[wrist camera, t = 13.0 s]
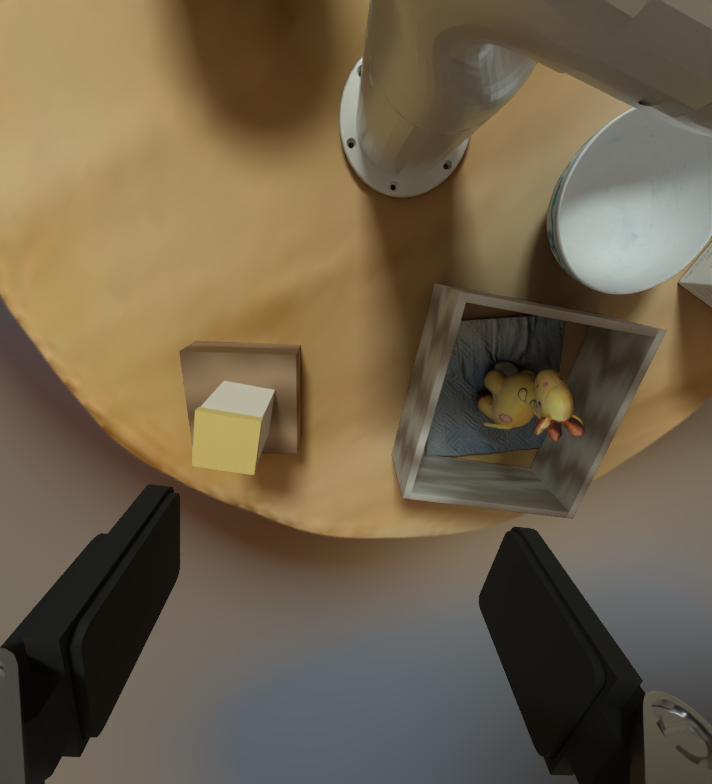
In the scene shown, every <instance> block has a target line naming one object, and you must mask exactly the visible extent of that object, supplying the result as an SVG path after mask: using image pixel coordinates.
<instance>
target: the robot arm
mask: <svg viewBox="0 0 712 784" xmlns="http://www.w3.org/2000/svg"><path fill="white" fill-rule="evenodd" d="M537 62H539V63H541V64H543V65H545V66H547V67H549V68H551V69H553V70H555V71H557V72H559V73H567V74H569V75H571V76H573V77H575V78H577V79H579V80H581V81H583V82H585V83H587V84H589V85H591V86H593V87H595V88H597V89H599V90H601V91H603V92H605V93H607V94H609V95H611V96H613V97H615V98H617V99H619V100H621V101H623V102H625V103H627V104H629V105H631V106H633V107H635V108H637V109H639V110H641V111H643V112H645V113H647V114H649V115H651V116H653V117H656V118H658V119H660V120H662V121H664V122H666V123H669V124H671V125H673V126H675V127H678V128H681V129H683V130H686V131H689V132H691V133H695V134H699V135H704V136H710V137H712V0H370V3H369V11H368V19H367V27H366V35H365V44H364V52H363V55H362V56H361V58H360V59H359V60H358V61H357V62H356V64H355V66H354V67H353V69H352V71H351V72H350V74H349V76H348V79H347V81H346V84H345V86H344V89H343V93H342V98H341V102H340V111H339V130H340V136H341V142H342V146H343V149H344V152H345V155H346V157H347V160H348V162H349V163H350V165H351V167H352V169H353V170H354V172H355V173H356V174H357V175H358V177H359V178H360V179H361V180H362V181H363V182H364V183H365V184H367V185H368V186H369V187H370V188H371V189H373V190H375V191H377V192H379V193H381V194H383V195H387V196H390V197H395V198H408V197H414V196H418V195H421V194H423V193H426V192H428V191H430V190H432V189H433V188H435V187H436V186H438V185H439V184H440V183H442V182H443V181H444V180H445V179H446V178H447V177H448V176H449V175H450V174H451V173H452V172H453V171H454V169H455V168H456V166H457V165H458V163H459V162H460V160H461V158H462V157H463V154H464V152H465V150H466V147H467V145H468V142H469V138H470V136H471V135H472V134H473V133H474V132H475V131H476V130H477V129H479V128H480V127H481V126H482V125H483V124H484V123H485V122H487V121H488V120H489V119H490V118H491V117H492V116H493V115H494V114H496V113H497V112H498V111H499V110H500V109H501V108H502V107H503V106H504V105H505V104H506V103H507V102H508V101H510V99H511V98H512V97H513V96H514V95H515V94H516V93H517V92H518V90H519V89H520V88H521V87H522V85H523V84H524V83H525V82H526V80H527V79H528V77H529V75H530V74H531V72H532V71H533V69H534V67H535V65H536V64H537ZM360 73H361V76H360V77H359V74H360ZM349 143H352V144H353V145H354V147H353V148H349V146H348V145H349ZM444 164H446V165H447V169H446V170H445V169H444V168H443V165H444ZM391 185H394V186H395V190H394V191H392V190H391ZM179 570H180V495H179V494H178V493H174V490H173V487H168V486H160V485H152V484H150V485H148V486H147V487H146V488H145V489H144V490H143V491H142V493H141V494H140V495H139V496H138V497H137V499H136V500H135V501H134V502H133V503H132V505H131V506H130V507H129V508H128V510H127V511H126V512H125V513H124V515H123V516H122V517H121V518H120V519H119V521H118V522H117V523H116V524H115V526H114V527H113V528H112V529H111V530H110V532H109V533H108V534H99V535H97V536H96V537H95V538H94V539H93V540H92V541H91V542H90V543H89V544H88V545H87V546H86V548H85V549H84V550H83V551H82V552H81V554H80V555H79V556H78V557H77V558H76V559H75V561H74V562H73V563H72V564H71V565H70V566H69V568H68V569H67V570H66V571H65V572H64V574H63V575H62V576H61V577H60V578H59V579H58V580H57V582H56V583H55V584H54V585H53V586H52V587H51V589H50V590H49V591H48V592H47V593H46V594H45V596H44V597H43V598H42V599H41V600H40V602H39V603H38V604H37V605H36V606H35V607H34V608H33V610H32V611H31V612H30V613H29V614H28V616H27V617H26V618H25V619H24V620H23V621H22V623H21V624H20V625H19V626H18V627H17V628H16V630H15V631H14V632H13V633H12V634H11V635H10V637H9V638H8V639H7V640H6V641H5V643H4V644H3V645H2V646H1V647H0V784H45V780H46V779H47V778H48V777H50V776H51V775H52V774H53V772H54V770H55V768H56V766H57V765H58V763H59V761H60V759H61V757H62V756H67V757H68V756H69V757H80V756H81V754H82V752H83V750H84V748H85V746H86V744H87V743H88V740H89V739H90V737H97V736H98V735H99V734H100V733H101V731H102V730H103V728H104V726H105V724H106V722H107V720H108V718H109V716H110V714H111V712H112V710H113V708H114V706H115V704H116V702H117V700H118V698H119V696H120V694H121V692H122V690H123V688H124V686H125V684H126V682H127V680H128V678H129V676H130V674H131V672H132V669H133V668H134V665H135V664H136V662H137V660H138V657H139V656H140V654H141V652H142V650H143V647H144V645H145V643H146V641H147V639H148V637H149V635H150V633H151V631H152V629H153V627H154V625H155V623H156V621H157V619H158V617H159V615H160V613H161V611H162V609H163V607H164V605H165V603H166V600H167V599H168V597H169V594H170V592H171V591H172V589H173V587H174V585H175V583H176V580H177V578H178V574H179ZM479 606H480V610H481V612H482V615H483V617H484V620H485V622H486V625H487V627H488V630H489V633H490V635H491V638H492V640H493V643H494V645H495V648H496V650H497V653H498V655H499V658H500V660H501V663H502V665H503V668H504V671H505V673H506V676H507V678H508V681H509V683H510V686H511V688H512V691H513V693H514V696H515V699H516V701H517V704H518V706H519V709H520V711H521V714H522V716H523V719H524V721H525V724H526V727H527V729H528V732H529V734H530V737H531V739H532V742H533V744H534V747H535V749H536V751H537V752H538V754H540V755H541V756H543V757H544V759H545V762H546V764H547V767H548V769H549V772H550V774H551V775H573V774H575V776H576V778H577V781H578V783H579V784H712V727H711V726H710V725H709V724H708V723H707V722H706V721H705V720H704V719H703V718H702V717H701V716H700V715H699V714H698V713H697V712H695V711H694V710H693V709H692V708H690V707H689V706H688V705H686V704H685V703H684V702H682V701H681V700H679V699H677V698H675V697H673V696H671V695H669V694H666V693H663V692H659V691H650V692H649V693H647V694H645V693H644V691H643V690H642V688H641V687H640V684H641V683H642V681H643V680H642V679H641V678H640V676H639V675H638V673H637V672H636V670H635V669H634V668H633V666H632V665H631V663H630V662H629V661H628V659H627V658H626V657H625V655H624V653H623V652H622V651H621V649H620V648H619V646H618V645H617V644H616V642H615V641H614V639H613V638H612V636H611V635H610V634H609V632H608V631H607V629H606V628H605V627H604V625H603V624H602V622H601V621H600V620H599V618H598V617H597V615H596V614H595V612H594V611H593V610H592V608H591V607H590V605H589V604H588V603H587V601H586V600H585V598H584V597H583V595H582V594H581V593H580V591H579V590H578V588H577V587H576V585H575V584H574V583H573V581H572V580H571V578H570V577H569V576H568V574H567V573H566V571H565V570H564V568H563V567H562V566H561V564H560V563H559V561H558V560H557V559H556V557H555V556H554V554H553V553H552V551H551V550H550V549H549V547H548V546H547V544H546V543H545V542H544V540H543V539H542V537H541V536H540V535H539V533H538V532H537V531H536V530H534V529H530V528H522V527H513V528H512V529H511V531H508V532H506V534H505V536H504V538H503V541H502V543H501V545H500V548H499V550H498V553H497V555H496V557H495V559H494V562H493V564H492V567H491V569H490V571H489V574H488V576H487V579H486V581H485V583H484V585H483V588H482V590H481V593H480V595H479Z"/></svg>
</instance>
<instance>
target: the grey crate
mask: <svg viewBox="0 0 712 784" xmlns="http://www.w3.org/2000/svg"><path fill="white" fill-rule="evenodd" d="M466 302H467V303H472V304H478V305H483V306H489V307H494V308H499V309H505V310H510V311H516V312H521V313H526V314H532V315H537V316H543V317H548V318H553V319H559V320H564V321H570V322H575V323H581V324H586V325H590V328H589V330H588V332H587V335H586V337H585V340H584V342H583V344H582V347H581V349H580V351H579V354H578V356H577V359H576V361H575V363H574V366H573V368H572V371H571V373H570V375H569V378H568V380H567V382H566V383H567V385H568V388H569V390H570V392H571V394H572V397H573V406H574V408H573V415H576V416H577V417H579V418H580V419H581V420H582V421H583V424H584V427H585V433H584V435H582V436H578V437H577V436H574V435H572V434H570V433H569V432H568V430H567V428H566V427H565V425H564V424H563V425H562V427H561V428H562V436H561V438H560V439H559V441H554V440H552V439H551V438H550V436H549V435H548V433H547V437H546V439H545V441H544V443H543V445H542V448H539V449H538V451H537V454H536V456H535V459H534V461H533V463H532V466H531V468H523V467H516V466H508V465H501V464H494V463H486V462H479V461H471V460H464V459H457V458H449V457H442V456H434V455H433V456H427V454H423V451H424V447H425V444H426V440H427V437H428V433H429V430H430V426H431V423H432V419H433V416H434V412H435V409H436V405H437V402H438V398H439V395H440V391H441V388H442V384H443V381H444V377H445V374H446V370H447V367H448V363H449V360H450V356H451V353H452V349H453V346H454V342H455V339H456V336H457V332H458V329H459V325H460V322H461V318H462V315H463V311H464V308H465V304H466ZM666 331H667V330H663V329H659V328H654V327H650V326H646V325H642V324H638V323H634V322H630V321H626V320H622V319H617V318H613V317H609V316H605V315H601V314H596V313H590V312H585V311H580V310H574V309H569V308H564V307H559V306H553V305H548V304H543V303H537V302H532V301H527V300H522V299H516V298H511V297H506V296H500V295H495V294H490V293H485V292H479V291H474V290H469V289H463V288H458V287H453V286H448V285H442V284H437V283H435V284H434V288H433V292H432V296H431V300H430V304H429V308H428V312H427V316H426V320H425V324H424V328H423V332H422V336H421V340H420V344H419V348H418V352H417V356H416V360H415V364H414V368H413V372H412V376H411V380H410V384H409V388H408V392H407V396H406V400H405V404H404V408H403V412H402V416H401V420H400V424H399V428H398V432H397V436H396V440H395V444H394V448H393V452H392V458H393V462H394V466H395V470H396V474H397V478H398V481H399V485H400V489H401V493H402V497H403V498H406V499H414V500H422V501H431V502H439V503H447V504H455V505H464V506H472V507H480V508H488V509H497V510H505V511H513V512H521V513H530V514H539V515H546V516H555V517H563V518H571V519H573V517H574V515H575V513H576V511H577V509H578V507H579V505H580V503H581V501H582V499H583V497H584V495H585V493H586V491H587V489H588V487H589V485H590V483H591V481H592V479H593V477H594V475H595V473H596V471H597V469H598V467H599V465H600V463H601V461H602V459H603V457H604V455H605V453H606V451H607V449H608V447H609V445H610V443H611V441H612V439H613V437H614V435H615V433H616V431H617V429H618V427H619V425H620V423H621V421H622V419H623V417H624V415H625V413H626V411H627V409H628V407H629V405H630V403H631V401H632V399H633V397H634V395H635V393H636V391H637V389H638V387H639V385H640V383H641V381H642V379H643V377H644V375H645V373H646V371H647V369H648V367H649V365H650V363H651V361H652V359H653V357H654V355H655V353H656V351H657V349H658V347H659V345H660V343H661V341H662V339H663V337H664V335H665V333H666Z"/></svg>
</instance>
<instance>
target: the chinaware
mask: <svg viewBox="0 0 712 784" xmlns="http://www.w3.org/2000/svg"><path fill="white" fill-rule="evenodd" d="M547 235H548V240H549V244H550V248H551V250H552V253H553V255H554V257H555V258H556V260H557V262H558V263H559V265H560V266H561V267H562V268H563V269H564V271H565V272H566V273H567V274H569V275H570V276H571V277H572V278H573V279H575V280H576V281H578V282H579V283H581V284H583V285H584V286H586V287H588V288H590V289H593V290H595V291H598V292H602V293H606V294H615V295H623V294H632V293H637V292H641V291H644V290H647V289H650V288H652V287H655V286H657V285H659V284H661V283H663V282H665V281H666V280H668V279H670V278H671V277H673V276H674V275H675V274H677V273H678V272H679V271H681V270H682V269H683V268H684V267H686V266H687V265H688V264H689V263H690V262H691V261H692V260H693V259H694V258H695V257H696V256H697V255H698V253H699V252H700V251H701V250H702V249H703V247H704V246H705V245H706V243H707V242H708V241H709V239H710V238H711V236H712V137H710V136H704V135H699V134H695V133H691V132H689V131H686V130H683V129H681V128H678V127H675V126H673V125H671V124H669V123H666V122H664V121H662V120H660V119H658V118H656V117H653V116H651V115H649V114H647V113H645V112H643V111H641V110H639V109H637V108H635V107H634V108H632V109H630V110H628V111H626V112H624V113H623V114H621V115H619V116H618V117H616V118H615V119H613V120H612V121H611V122H609V123H608V124H607V125H605V126H604V127H603V128H602V129H600V130H599V131H598V132H597V133H596V134H595V135H593V136H592V137H591V138H590V139H589V140H588V141H587V142H586V143H585V144H584V145H583V146H582V147H581V149H580V150H579V151H578V152H577V153H576V154H575V156H574V157H573V158H572V159H571V161H570V162H569V164H568V165H567V166H566V168H565V169H564V171H563V173H562V174H561V176H560V178H559V180H558V182H557V184H556V186H555V189H554V191H553V194H552V197H551V200H550V203H549V208H548V214H547Z"/></svg>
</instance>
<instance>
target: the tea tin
mask: <svg viewBox="0 0 712 784" xmlns="http://www.w3.org/2000/svg"><path fill="white" fill-rule="evenodd" d="M274 394H275V390H273V389H267V388H262V387H256V386H251V385H245V384H239V383H234V382H228V381H223V382H222V383H221V384H220V386H219V387H218V388H217V389H216V390H215V391H214V392H213V393H212V394H211V396H210V397H209V398H208V399H207V400H206V401H205V402H204V403H203V405H202V406H201V407H198V408H197V409H196V410H195V417H194V435H193V452H192V466H196V467H203V468H210V469H216V470H223V471H230V472H236V473H243V474H250V475H254V474H255V472H256V467H257V463H258V460H259V458H260V455H261V453H262V450H263V448H264V445H265V442H266V440H267V437H268V435H269V429H270V422H271V415H272V408H273V401H274Z"/></svg>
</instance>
